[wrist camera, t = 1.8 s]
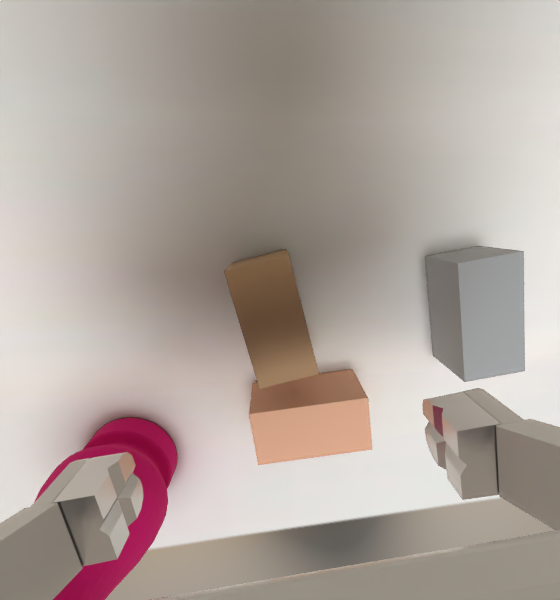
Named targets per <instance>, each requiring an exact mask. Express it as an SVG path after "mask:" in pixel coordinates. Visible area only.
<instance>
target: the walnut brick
mask: <svg viewBox="0 0 560 600" xmlns="http://www.w3.org/2000/svg"><path fill="white" fill-rule="evenodd" d="M224 273H225V276H226V280H227V283H228V286H229V290H230V293H231V296H232V299H233V303H234V306H235V309H236V313H237V316H238V319H239V322H240V326H241V329H242V332H243V336H244V339H245V342H246V346H247V349H248V352H249V355H250V359H251V362H252V365H253V369H254V372H255V375H256V378H257V382H258V385H259V388H260V389H261V388H265V387H269V386H273V385H277V384H281V383H285V382H289V381H293V380H297V379H301V378H305V377H309V376H313V375H317V374H319V372H318V368H317V364H316V360H315V356H314V353H313V349H312V345H311V341H310V337H309V333H308V329H307V325H306V321H305V317H304V313H303V309H302V305H301V301H300V297H299V293H298V290H297V286H296V282H295V278H294V274H293V270H292V266H291V262H290V258H289V254H288V253H287V251H286V249H283V250H279V251H276V252H272V253H268V254H264V255H261V256H257V257H253V258H249V259H245V260H242V261H238V262H234V263H232V264H231V265H230V266H229V267H228V268H227V269H226V270H225V271H224Z"/></svg>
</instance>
